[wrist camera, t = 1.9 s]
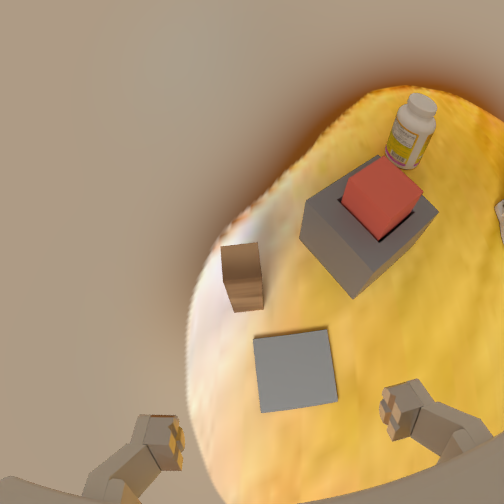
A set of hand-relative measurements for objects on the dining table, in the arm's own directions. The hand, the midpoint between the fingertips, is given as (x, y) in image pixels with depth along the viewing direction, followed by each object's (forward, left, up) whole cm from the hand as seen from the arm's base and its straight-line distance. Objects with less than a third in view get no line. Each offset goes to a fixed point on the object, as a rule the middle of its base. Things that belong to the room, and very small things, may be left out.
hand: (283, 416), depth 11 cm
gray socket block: (-22, -10, -26) cm, 35 cm away
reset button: (-22, -10, -18) cm, 30 cm away
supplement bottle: (-41, -17, -26) cm, 52 cm away
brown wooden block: (-5, -13, -26) cm, 29 cm away
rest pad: (-4, -1, -26) cm, 26 cm away
